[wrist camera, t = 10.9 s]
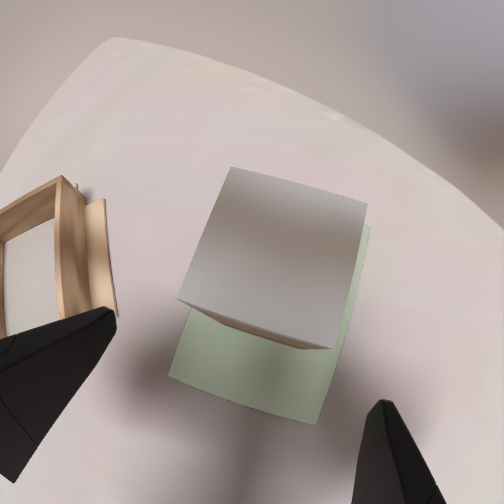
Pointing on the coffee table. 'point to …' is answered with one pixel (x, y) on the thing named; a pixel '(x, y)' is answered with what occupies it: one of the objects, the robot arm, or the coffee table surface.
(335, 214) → the gray block
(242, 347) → the green mat
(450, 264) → the coffee table surface
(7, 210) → the wooden square frame
